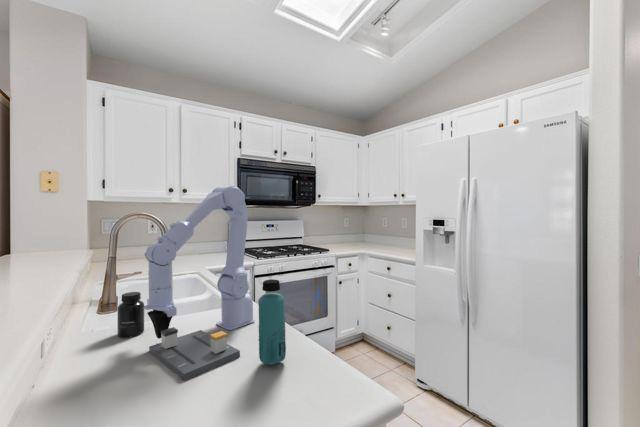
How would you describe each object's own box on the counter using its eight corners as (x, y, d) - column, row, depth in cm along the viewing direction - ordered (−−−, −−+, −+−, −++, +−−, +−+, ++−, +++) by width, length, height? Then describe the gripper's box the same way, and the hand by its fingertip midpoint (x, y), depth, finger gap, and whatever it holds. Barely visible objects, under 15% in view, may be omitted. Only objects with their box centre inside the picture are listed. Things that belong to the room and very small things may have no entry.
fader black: (173, 342, 80) (173, 327, 80) (178, 345, 78) (177, 329, 78) (161, 346, 78) (160, 330, 78) (165, 349, 76) (164, 333, 76)
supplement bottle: (123, 340, 85) (122, 298, 85) (113, 334, 89) (113, 294, 89) (148, 332, 91) (148, 293, 91) (138, 327, 95) (138, 289, 95)
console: (200, 335, 89) (200, 329, 89) (239, 356, 75) (239, 350, 75) (149, 352, 78) (149, 346, 78) (184, 380, 65) (184, 373, 65)
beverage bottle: (281, 372, 68) (280, 284, 68) (253, 369, 69) (252, 283, 69) (289, 358, 74) (289, 277, 74) (264, 356, 76) (263, 276, 75)
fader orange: (221, 346, 77) (221, 330, 77) (227, 349, 76) (227, 333, 76) (210, 350, 75) (209, 334, 75) (215, 354, 73) (215, 337, 73)
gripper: (134, 285, 83) (135, 334, 83) (155, 294, 73) (156, 350, 74) (161, 280, 88) (162, 326, 88) (184, 289, 79) (185, 340, 79)
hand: (161, 336), depth 81 cm, fingers closed
